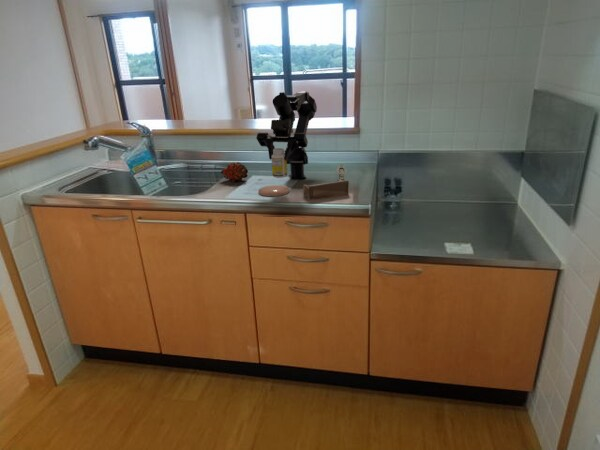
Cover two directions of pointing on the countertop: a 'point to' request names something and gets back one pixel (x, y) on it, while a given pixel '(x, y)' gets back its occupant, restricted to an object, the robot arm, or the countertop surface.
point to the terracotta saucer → (274, 190)
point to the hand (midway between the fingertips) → (277, 159)
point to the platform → (341, 171)
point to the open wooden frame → (326, 189)
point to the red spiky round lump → (235, 172)
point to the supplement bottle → (279, 163)
